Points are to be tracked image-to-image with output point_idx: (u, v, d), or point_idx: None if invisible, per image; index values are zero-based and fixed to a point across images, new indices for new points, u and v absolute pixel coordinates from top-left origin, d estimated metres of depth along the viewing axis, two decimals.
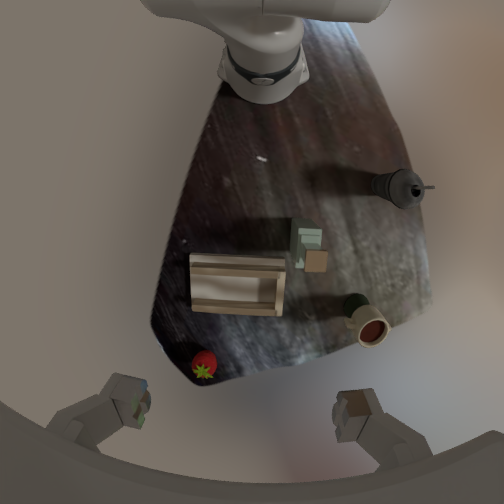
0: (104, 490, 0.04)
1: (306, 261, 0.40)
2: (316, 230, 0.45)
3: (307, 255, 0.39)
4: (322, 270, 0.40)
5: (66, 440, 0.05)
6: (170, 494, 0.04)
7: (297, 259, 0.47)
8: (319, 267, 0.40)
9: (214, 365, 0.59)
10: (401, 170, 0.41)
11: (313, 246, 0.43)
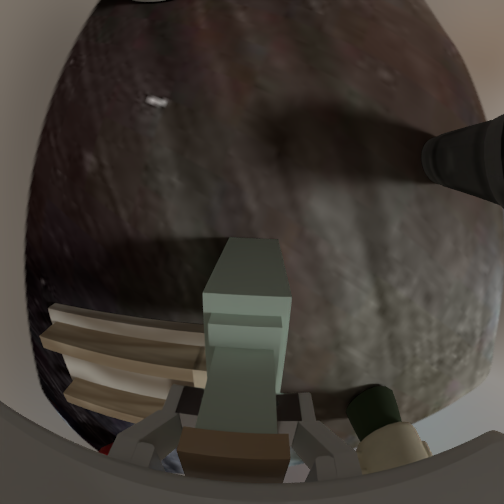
0: (104, 490, 0.04)
1: (188, 473, 0.06)
2: (270, 301, 0.12)
3: (185, 462, 0.06)
4: None
5: (66, 440, 0.05)
6: (170, 494, 0.04)
7: None
8: None
9: None
10: None
11: (243, 382, 0.10)
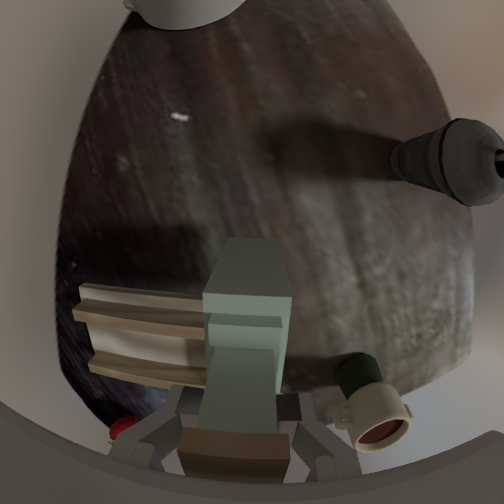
0: (104, 490, 0.04)
1: (188, 473, 0.06)
2: (270, 301, 0.12)
3: (186, 462, 0.06)
4: None
5: (66, 440, 0.05)
6: (170, 494, 0.04)
7: None
8: None
9: None
10: (462, 119, 0.14)
11: (243, 382, 0.10)
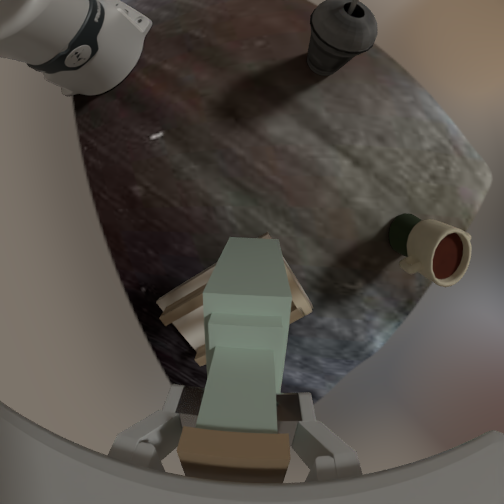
0: (104, 490, 0.04)
1: (188, 472, 0.06)
2: (270, 301, 0.12)
3: (186, 462, 0.06)
4: None
5: (66, 440, 0.05)
6: (170, 494, 0.04)
7: None
8: None
9: None
10: (317, 7, 0.19)
11: (243, 382, 0.10)
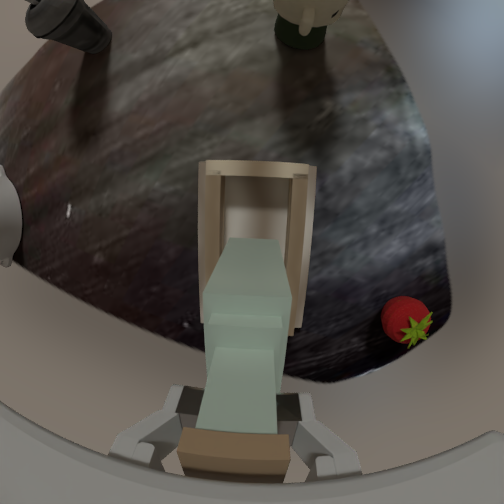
0: (104, 490, 0.04)
1: (188, 473, 0.06)
2: (270, 301, 0.12)
3: (185, 462, 0.06)
4: None
5: (66, 440, 0.05)
6: (170, 494, 0.04)
7: None
8: None
9: (409, 306, 0.28)
10: None
11: (243, 383, 0.10)
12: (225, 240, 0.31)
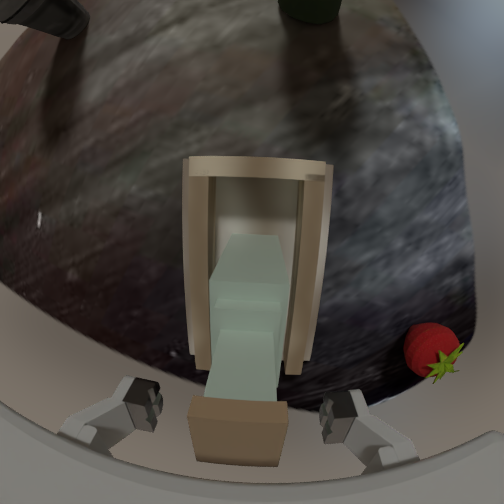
0: (104, 490, 0.04)
1: (196, 441, 0.08)
2: (270, 288, 0.14)
3: (194, 428, 0.08)
4: (265, 464, 0.08)
5: (66, 440, 0.05)
6: (170, 494, 0.04)
7: None
8: (252, 458, 0.08)
9: (439, 336, 0.21)
10: None
11: (246, 359, 0.11)
12: (217, 258, 0.25)
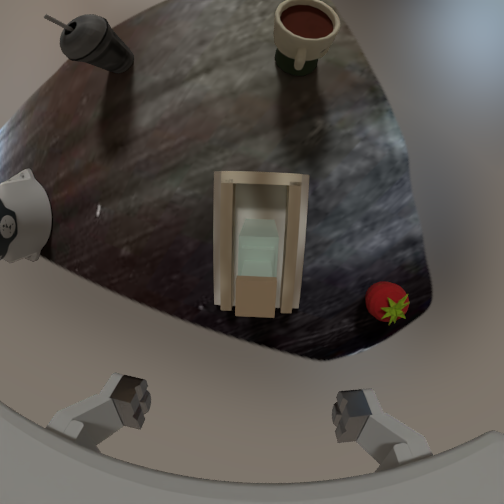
0: (104, 490, 0.04)
1: (237, 299, 0.22)
2: (269, 239, 0.28)
3: (237, 288, 0.22)
4: (268, 314, 0.22)
5: (66, 440, 0.05)
6: (170, 494, 0.04)
7: None
8: (262, 309, 0.22)
9: (388, 288, 0.35)
10: None
11: (258, 268, 0.25)
12: (236, 234, 0.39)
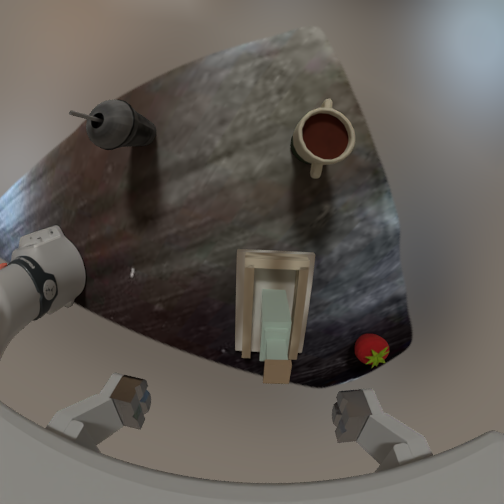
0: (104, 490, 0.04)
1: (264, 374, 0.31)
2: (284, 323, 0.37)
3: (265, 368, 0.31)
4: (284, 382, 0.31)
5: (66, 440, 0.05)
6: (170, 494, 0.04)
7: (261, 353, 0.38)
8: (281, 379, 0.31)
9: (372, 342, 0.44)
10: None
11: (277, 348, 0.34)
12: (254, 300, 0.48)
